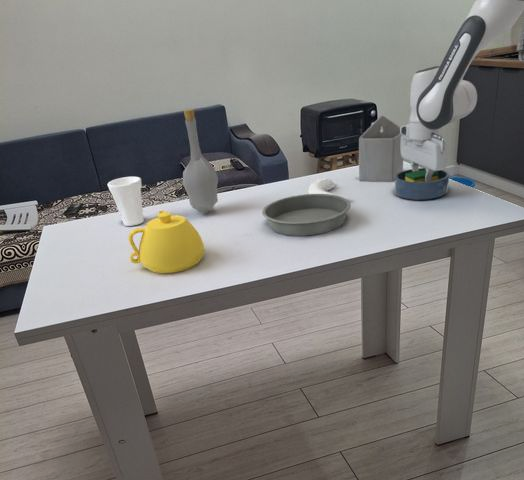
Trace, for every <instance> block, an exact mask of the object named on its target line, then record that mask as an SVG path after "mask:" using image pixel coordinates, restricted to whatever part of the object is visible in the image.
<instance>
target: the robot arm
mask: <svg viewBox="0 0 524 480" xmlns="http://www.w3.org/2000/svg"><path fill="white" fill-rule="evenodd" d="M523 11H524V0H475V1H474V2H473V4H472V6H471V8H470V10H469V12H468V14H467V15H466V17H465V19H464V21H463V23H462V24H461V25H460V28H459V29H458V31H457V33H456V34H455V36H454V38H453V40H452V42H451V44H450V46H449V48H448V50H447V52H446V54H445V56H444V57H443V59H442V61H441V63H440V65H435V66H430V67H427V68H423V69H419V70H417V71H416V72H415V73H414V74H413V76H412V79H411V84H410V92H409V107H410V114H409V118H408V123H407V124H405V125H402V126H400V134H402V136H401V144H400V152H401V156H402V158H403V160H406V161H409V162H410V169H412V171H413V172H416V171H419V168H420V167H419V166H421V167H423V168H426V171H427V172H426V175H425V176H424V182H430V181H431V179H432V175H433V173H434V171H439V170H444V171H445V170H446V168H447V165H448V147H447V143H446V140H445V139H444V136H443V135H441V131H442V130H441V129H442V128H444V127H445V126H446V125H449V124H450V123H454V122H457V121H458V120H460V119H463V118H466V117H468V116H469V115H470V114H472V113H473V111H474V110H475V109H476V106H477V104H478V99H479V97H478V90H477V88H476V86H475V85H474V84H473V83H472V82H471V81H470V80H466V79H464V77H465V75H466V74H467V72H468V69H469V67H470V65H471V64H472V62H473V61H474V59H475V58H476V56H477V55H478V54H479V53H480V52H481V51H482V50H483V49H484V48H485V47H486V46H488V45H489V44H490V43H492V42H494V41H495V40H496V39H498V38H499V37H501V36H503V35H505V34H506V33H507V32H509V31H510V30H511V29H512V28H513V27H514V25H515V24H516V22H517V21H518V19H519V18H520V17H521V15H522V13H523Z"/></svg>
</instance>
